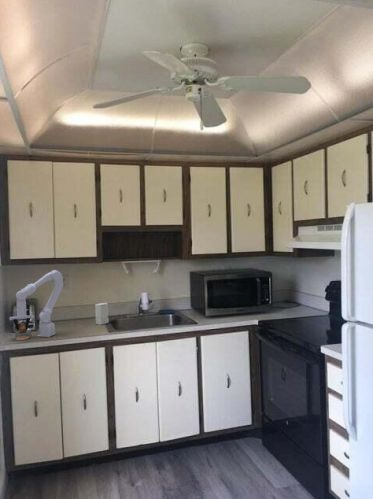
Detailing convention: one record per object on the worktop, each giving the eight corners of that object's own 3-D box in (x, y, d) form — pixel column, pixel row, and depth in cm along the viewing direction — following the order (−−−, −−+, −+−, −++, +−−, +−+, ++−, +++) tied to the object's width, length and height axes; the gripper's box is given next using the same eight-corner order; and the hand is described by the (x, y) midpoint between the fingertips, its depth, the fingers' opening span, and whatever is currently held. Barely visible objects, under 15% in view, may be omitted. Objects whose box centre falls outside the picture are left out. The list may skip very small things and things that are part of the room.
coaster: (32, 337, 268) (31, 336, 268) (23, 340, 260) (23, 339, 260) (22, 336, 270) (22, 335, 270) (13, 339, 262) (13, 338, 262)
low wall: (31, 334, 274) (31, 330, 273) (31, 335, 273) (31, 330, 272) (15, 336, 270) (15, 331, 270) (15, 336, 270) (15, 332, 269)
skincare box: (101, 324, 298) (100, 304, 297) (95, 324, 301) (94, 304, 301) (109, 322, 305) (108, 302, 304) (103, 321, 308) (102, 302, 308)
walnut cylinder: (28, 331, 267) (27, 322, 267) (22, 333, 262) (22, 324, 262) (22, 331, 268) (21, 322, 268) (16, 333, 264) (16, 324, 264)
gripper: (33, 307, 270) (34, 327, 271) (10, 309, 266) (10, 329, 266) (33, 309, 263) (34, 330, 264) (8, 311, 259) (9, 332, 260)
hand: (22, 330), depth 265 cm, fingers closed on walnut cylinder, 5 cm apart
